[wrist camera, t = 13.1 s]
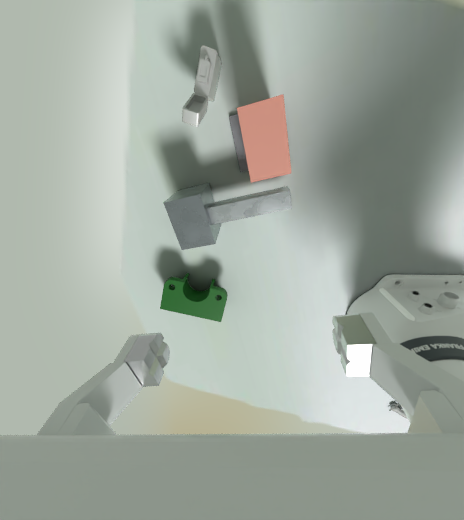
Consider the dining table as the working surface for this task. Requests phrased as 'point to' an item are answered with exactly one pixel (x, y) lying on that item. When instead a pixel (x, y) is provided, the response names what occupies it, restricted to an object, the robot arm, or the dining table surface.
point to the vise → (217, 212)
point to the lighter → (203, 86)
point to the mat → (238, 142)
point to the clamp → (193, 299)
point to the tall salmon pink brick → (265, 138)
